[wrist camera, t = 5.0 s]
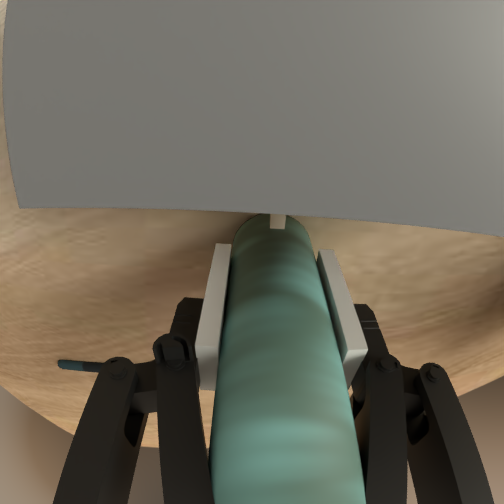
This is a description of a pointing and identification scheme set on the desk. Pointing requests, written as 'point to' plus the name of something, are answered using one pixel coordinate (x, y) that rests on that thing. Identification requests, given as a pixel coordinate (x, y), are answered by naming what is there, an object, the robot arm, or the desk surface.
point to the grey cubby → (260, 107)
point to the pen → (80, 365)
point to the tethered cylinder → (280, 379)
